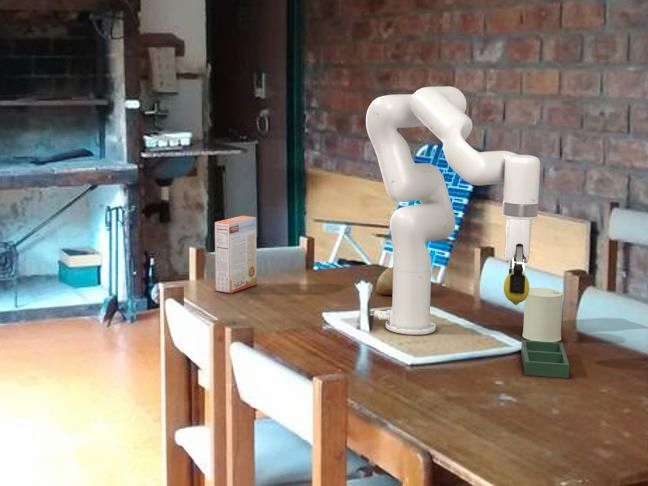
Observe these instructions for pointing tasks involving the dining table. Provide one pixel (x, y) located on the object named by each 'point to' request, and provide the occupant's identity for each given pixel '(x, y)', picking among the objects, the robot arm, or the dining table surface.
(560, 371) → the holder
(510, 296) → the lemon
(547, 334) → the can
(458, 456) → the dining table surface
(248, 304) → the dining table surface
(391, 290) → the bread roll
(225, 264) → the cracker box
